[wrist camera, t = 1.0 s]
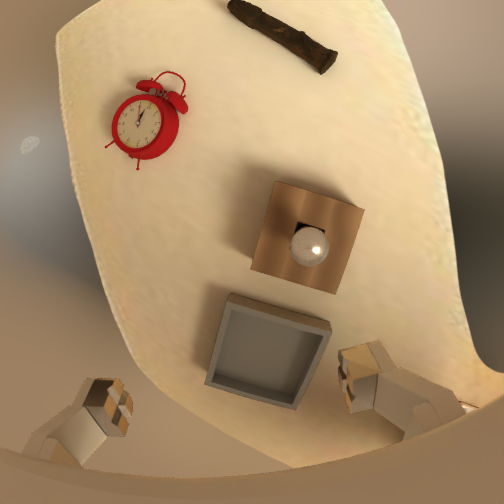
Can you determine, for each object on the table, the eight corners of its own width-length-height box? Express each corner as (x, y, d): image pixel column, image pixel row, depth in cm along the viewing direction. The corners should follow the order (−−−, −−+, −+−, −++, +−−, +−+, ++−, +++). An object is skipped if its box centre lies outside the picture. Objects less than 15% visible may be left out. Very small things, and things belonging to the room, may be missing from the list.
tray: (329, 322, 47) (332, 332, 43) (295, 397, 51) (295, 409, 47) (231, 293, 48) (226, 301, 44) (209, 372, 51) (204, 384, 48)
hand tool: (337, 61, 38) (342, 49, 34) (321, 78, 39) (324, 67, 35) (241, 1, 38) (237, -14, 33) (225, 16, 38) (219, 2, 34)
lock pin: (325, 224, 43) (334, 234, 34) (315, 253, 44) (321, 270, 35) (295, 215, 43) (296, 223, 34) (286, 244, 44) (285, 259, 36)
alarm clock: (95, 145, 42) (134, 57, 35) (118, 141, 47) (156, 62, 40) (142, 178, 42) (189, 84, 35) (163, 170, 48) (207, 88, 41)
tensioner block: (357, 206, 43) (364, 209, 38) (331, 283, 45) (335, 294, 41) (277, 181, 43) (275, 181, 39) (254, 260, 46) (250, 269, 41)
